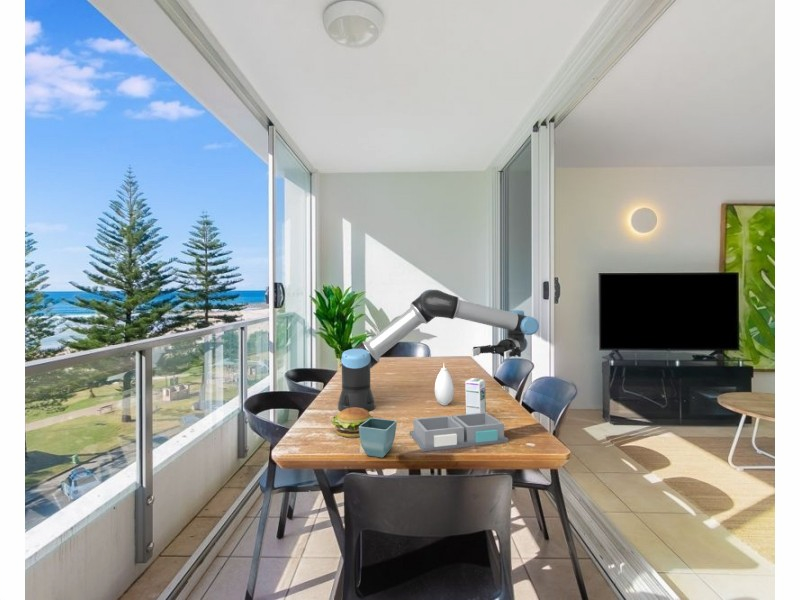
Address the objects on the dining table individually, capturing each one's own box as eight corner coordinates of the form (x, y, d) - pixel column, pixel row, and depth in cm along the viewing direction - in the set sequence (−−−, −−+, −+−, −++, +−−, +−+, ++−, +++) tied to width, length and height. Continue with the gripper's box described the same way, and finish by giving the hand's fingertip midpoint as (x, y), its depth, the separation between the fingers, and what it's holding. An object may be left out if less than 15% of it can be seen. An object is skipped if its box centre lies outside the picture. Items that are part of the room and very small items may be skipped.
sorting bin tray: (422, 451, 117) (422, 433, 117) (409, 434, 131) (409, 417, 131) (508, 442, 123) (508, 424, 123) (486, 426, 138) (486, 410, 138)
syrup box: (480, 422, 143) (480, 382, 142) (465, 419, 146) (465, 380, 146) (486, 417, 148) (485, 379, 147) (471, 415, 151) (470, 377, 150)
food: (324, 431, 135) (324, 408, 135) (359, 423, 143) (359, 401, 143) (344, 443, 124) (344, 418, 124) (381, 433, 132) (381, 409, 132)
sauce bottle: (431, 404, 166) (430, 361, 165) (444, 401, 170) (444, 359, 170) (443, 408, 159) (443, 364, 159) (457, 405, 164) (457, 362, 164)
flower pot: (397, 450, 118) (397, 420, 118) (387, 462, 110) (386, 429, 110) (370, 446, 121) (370, 417, 121) (358, 457, 113) (358, 426, 113)
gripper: (537, 358, 164) (520, 366, 147) (481, 354, 179) (459, 361, 162) (537, 340, 164) (519, 346, 147) (481, 337, 179) (459, 342, 162)
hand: (488, 354), depth 154 cm, fingers open, 13 cm apart
